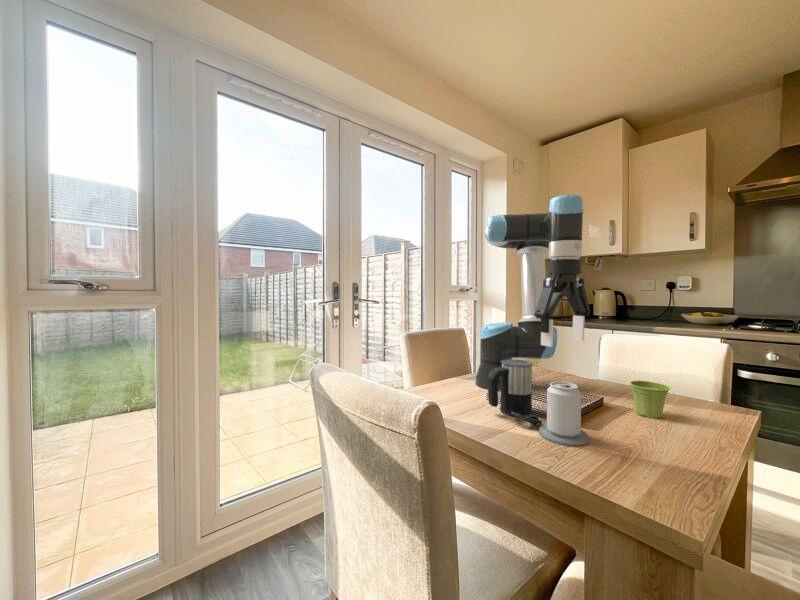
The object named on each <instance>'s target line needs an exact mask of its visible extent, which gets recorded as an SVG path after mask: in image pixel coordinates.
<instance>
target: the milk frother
mask: <svg viewBox="0 0 800 600" xmlns="http://www.w3.org/2000/svg"><path fill="white" fill-rule="evenodd" d="M501 363H502V367H497V368H494V369H492V370H491V371H490V373H489V375H488V389H487V394H488V395H487V396H488V404H489V405H490V406H491V407H494V408H497V407H498V406H499V402H500V406H499V411H500V412H501V413H503V414H504V415H507V416H512V417H517V418H520V419H523V420H524V421H526V422H527V423H529V424H531V425H532V426H535V427H537V425H538V424H539V425H542V424H543V421H542V419H541V418H539V416H538V415H536V414H533V413H534V412H533V405H532V403H533V401H532V399H533V398H532V394H533V393H532V391H533V390H532V389H533V388H532V387H533V365H534V363H533V362H532V361H529V360H525V359H518V358H512V359H506V360H502V361H501ZM500 376H501V390H500V401H499V393H498V392H499V390H498V378H499V377H500Z"/></svg>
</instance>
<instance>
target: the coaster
mask: <svg viewBox="0 0 800 600" xmlns="http://www.w3.org/2000/svg"><path fill="white" fill-rule="evenodd" d="M539 435H540V437H541V438H543V439H545V440H547V441H548V442H551V443H553V444H557V445H559V446H560V445H561V446H567V447H580V446H581V447H582V446H585V445H588V444H589V442H590V435H589V434H588V433H587V432H586V431H584V430H582V429H581V432H580V434H578V435H577V436H576V437H572V438H566V437H560V436H557V435H554V434H553V433H551V431H550V430H549V429H548V428H547V423H546V424H543V425H541V426H540V427H539Z"/></svg>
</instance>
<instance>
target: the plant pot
mask: <svg viewBox="0 0 800 600" xmlns="http://www.w3.org/2000/svg"><path fill="white" fill-rule="evenodd" d="M629 385H630V387H631V390H632V395H633V402H634V403H633V404H634V411H635V413H636V414H637V415H639V416H644V417H647V418H650V419H661V417H663V411H664V408H665V402H666V399H667V395H668V393H669V391H670V390H671V387H670V386H669V385H666V384H664V383H658V382H655V381H648V380H631V381H629Z"/></svg>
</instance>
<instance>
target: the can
mask: <svg viewBox="0 0 800 600" xmlns="http://www.w3.org/2000/svg"><path fill="white" fill-rule="evenodd" d="M549 385H550V386H549V387H547V389H546V424H547V428H548V429H549V430H550V431H551V433H553V434H554V435H557V436H560V437H566V438H572V437H576V436H577V435H578V434H580V432H581V430H582V429H581V428H582V421H581V420H582V392H581V391H580V389H579V385H577V384H575V383H573V382H568V381H567V382H566V381H551V382H550V383H549Z"/></svg>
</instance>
